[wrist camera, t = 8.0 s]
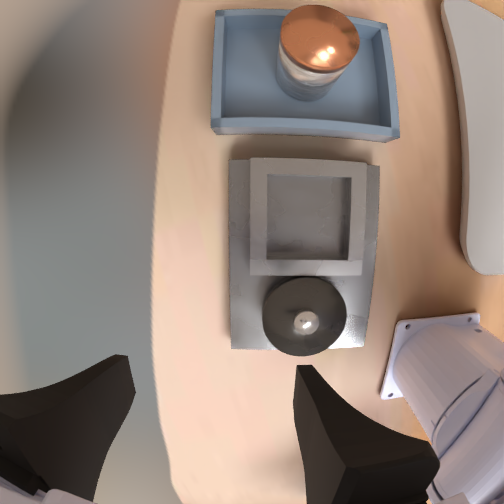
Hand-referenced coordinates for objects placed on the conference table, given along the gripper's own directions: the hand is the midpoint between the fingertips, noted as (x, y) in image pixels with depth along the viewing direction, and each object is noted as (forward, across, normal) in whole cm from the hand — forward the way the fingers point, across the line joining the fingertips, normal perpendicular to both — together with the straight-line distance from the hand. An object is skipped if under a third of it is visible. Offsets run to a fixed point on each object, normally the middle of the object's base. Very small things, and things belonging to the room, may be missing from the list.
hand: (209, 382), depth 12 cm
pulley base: (+10, -5, -3) cm, 12 cm away
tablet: (+11, -26, -15) cm, 32 cm away
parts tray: (+10, -5, -16) cm, 20 cm away
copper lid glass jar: (+10, -5, -16) cm, 19 cm away
